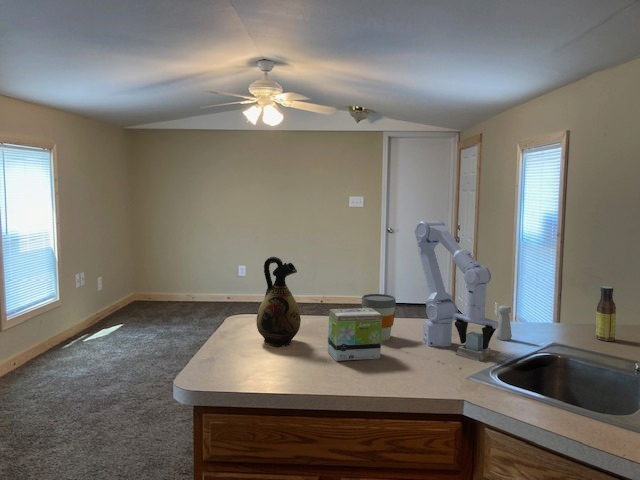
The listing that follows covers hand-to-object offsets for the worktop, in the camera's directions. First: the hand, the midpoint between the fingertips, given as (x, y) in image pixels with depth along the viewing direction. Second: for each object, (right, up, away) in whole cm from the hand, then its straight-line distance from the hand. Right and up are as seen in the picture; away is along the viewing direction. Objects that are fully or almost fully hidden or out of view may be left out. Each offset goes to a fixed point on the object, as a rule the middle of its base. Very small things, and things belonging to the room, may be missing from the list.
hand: (474, 345), depth 156 cm
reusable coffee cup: (-29, -2, +22) cm, 36 cm away
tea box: (-39, -4, +1) cm, 39 cm away
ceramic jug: (-65, -2, +14) cm, 66 cm away
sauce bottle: (+57, -3, +25) cm, 62 cm away
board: (+2, -4, +3) cm, 5 cm away
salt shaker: (+17, -3, +20) cm, 26 cm away
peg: (0, -3, 0) cm, 3 cm away
